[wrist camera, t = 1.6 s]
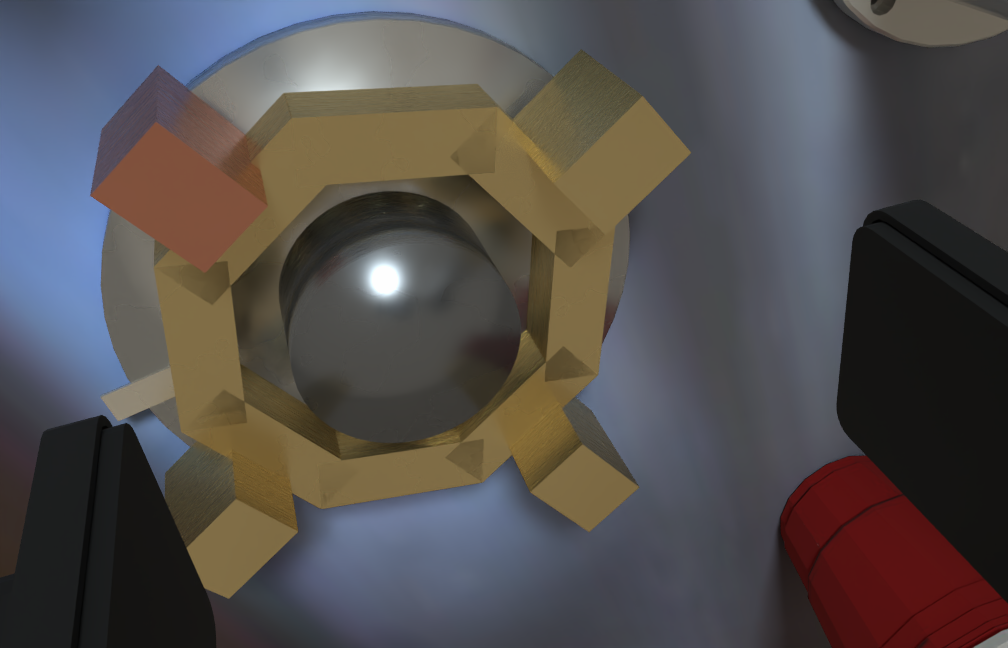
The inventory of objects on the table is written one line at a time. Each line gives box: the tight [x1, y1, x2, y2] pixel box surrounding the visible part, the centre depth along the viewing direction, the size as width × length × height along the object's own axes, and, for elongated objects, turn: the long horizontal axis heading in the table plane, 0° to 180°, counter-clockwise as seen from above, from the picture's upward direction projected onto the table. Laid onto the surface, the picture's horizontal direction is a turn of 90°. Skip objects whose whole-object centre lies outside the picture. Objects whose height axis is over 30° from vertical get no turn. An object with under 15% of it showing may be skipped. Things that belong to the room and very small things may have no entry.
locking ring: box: [90, 49, 691, 599], centre depth 27 cm, size 14×14×4 cm
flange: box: [101, 11, 630, 447], centre depth 28 cm, size 16×16×4 cm
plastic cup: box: [781, 456, 1008, 648], centre depth 37 cm, size 11×11×12 cm
